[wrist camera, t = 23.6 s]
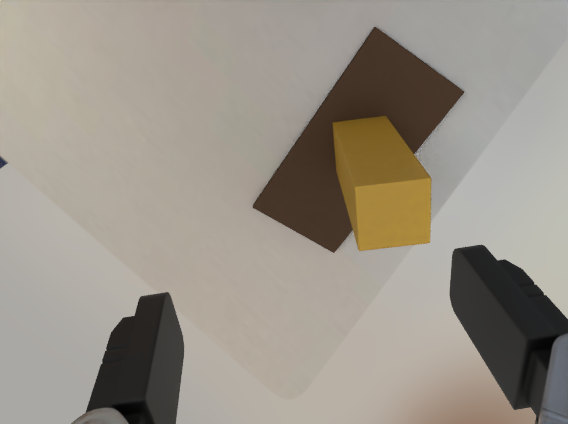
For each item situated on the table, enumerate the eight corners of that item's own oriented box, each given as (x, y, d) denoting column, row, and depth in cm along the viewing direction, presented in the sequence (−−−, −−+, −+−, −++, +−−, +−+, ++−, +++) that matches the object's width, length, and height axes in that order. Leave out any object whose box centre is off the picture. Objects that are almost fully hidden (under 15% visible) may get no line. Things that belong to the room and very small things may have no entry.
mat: (333, 250, 45) (334, 253, 44) (252, 205, 42) (252, 207, 42) (462, 91, 38) (464, 92, 38) (374, 26, 36) (375, 27, 35)
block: (336, 171, 41) (358, 251, 29) (332, 122, 39) (354, 186, 27) (387, 165, 40) (430, 243, 29) (386, 115, 38) (431, 177, 27)
